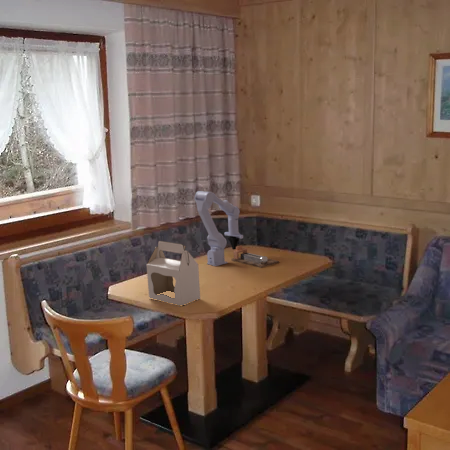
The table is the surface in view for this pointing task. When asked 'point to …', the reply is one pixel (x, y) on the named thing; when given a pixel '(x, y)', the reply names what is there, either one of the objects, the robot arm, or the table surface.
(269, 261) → the walnut board
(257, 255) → the tongs arm
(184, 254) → the gable box
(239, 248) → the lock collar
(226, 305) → the table surface
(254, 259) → the base
